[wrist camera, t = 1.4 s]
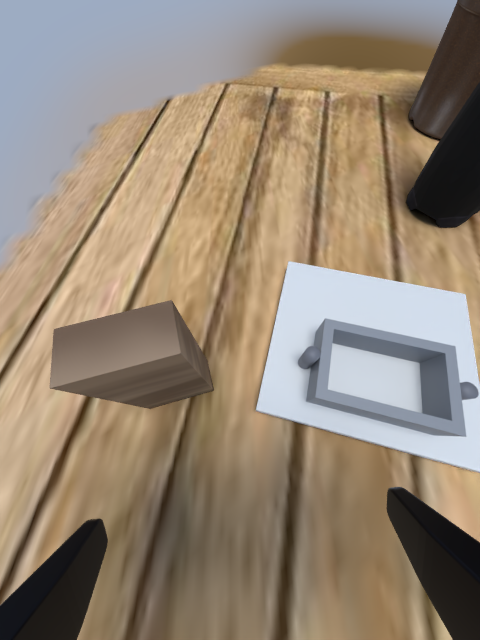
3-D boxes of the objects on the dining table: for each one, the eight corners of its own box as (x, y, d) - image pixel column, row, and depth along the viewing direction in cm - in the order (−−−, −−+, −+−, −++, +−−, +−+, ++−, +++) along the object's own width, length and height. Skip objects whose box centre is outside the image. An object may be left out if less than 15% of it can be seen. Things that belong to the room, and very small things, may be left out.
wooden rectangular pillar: (213, 390, 22) (180, 353, 11) (150, 408, 21) (49, 388, 11) (205, 350, 24) (168, 284, 13) (145, 366, 23) (55, 312, 12)
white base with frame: (475, 471, 19) (539, 484, 15) (255, 411, 21) (257, 406, 17) (453, 301, 25) (493, 276, 21) (286, 269, 27) (293, 241, 23)
